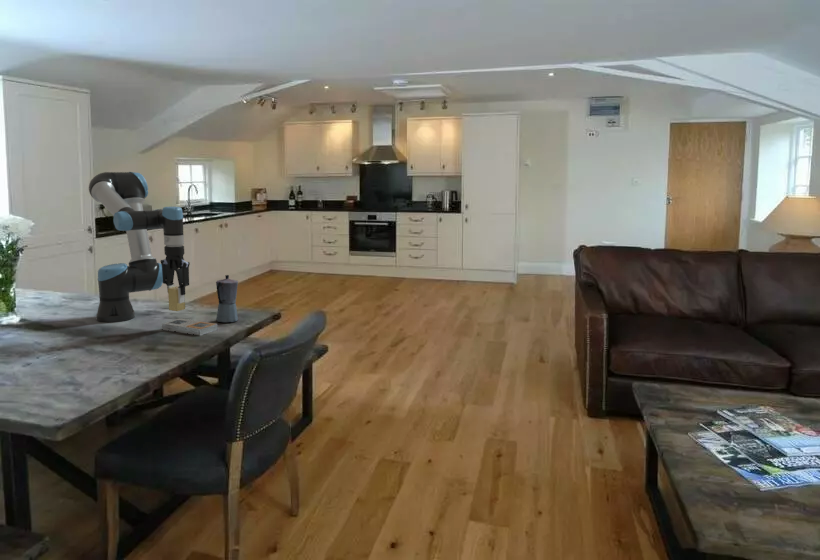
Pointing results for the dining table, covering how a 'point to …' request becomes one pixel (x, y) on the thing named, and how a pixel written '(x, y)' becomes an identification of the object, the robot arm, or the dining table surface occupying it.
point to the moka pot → (227, 300)
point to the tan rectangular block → (174, 300)
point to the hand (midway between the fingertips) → (176, 301)
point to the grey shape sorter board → (189, 326)
